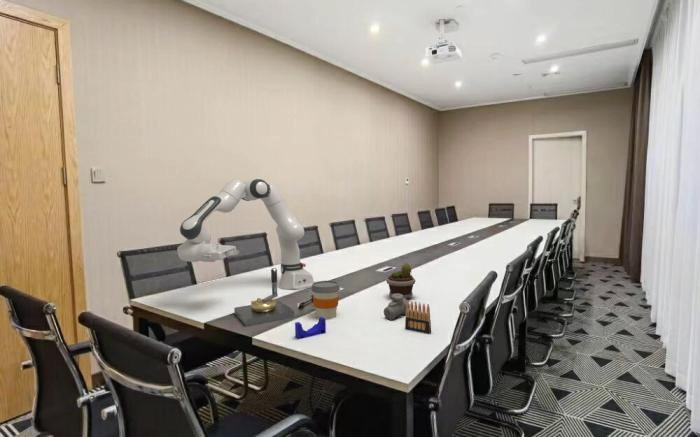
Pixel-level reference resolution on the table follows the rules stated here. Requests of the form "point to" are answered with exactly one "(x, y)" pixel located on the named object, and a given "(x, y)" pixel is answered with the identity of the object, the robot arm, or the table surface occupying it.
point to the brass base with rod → (267, 302)
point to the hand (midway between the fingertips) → (238, 252)
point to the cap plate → (263, 314)
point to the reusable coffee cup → (325, 298)
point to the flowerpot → (401, 282)
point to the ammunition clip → (418, 318)
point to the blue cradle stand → (313, 331)
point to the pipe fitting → (396, 307)
